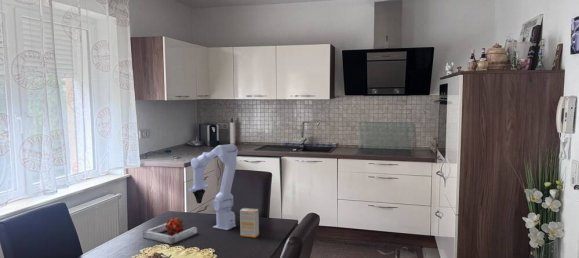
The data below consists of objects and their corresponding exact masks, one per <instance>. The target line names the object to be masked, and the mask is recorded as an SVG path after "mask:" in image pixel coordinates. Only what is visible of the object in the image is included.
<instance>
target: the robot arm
mask: <svg viewBox="0 0 579 258" xmlns="http://www.w3.org/2000/svg"><path fill="white" fill-rule="evenodd" d="M238 152H239V149H238V148H237V146H236V144H234V143H229V144H219V145H217V146H215V148H213V149H212V150H210V151H209V152H208V151H207V152H206V151H205V152H204V151H203V152H202V154H201V155H198V157H193V158H192V159H191V160H190V165H191V168H192V172H193V173H192V175H193V179H192V180H193V181H192V182H193V185H192V187H190V188H188V189H187V190H188V193H189V194H193V196H194V197H195V200H196V203H197V204H198V205H199V204H202V201H203V196H204V195H205V192H206V190H205V189H209V188H210V186H209V184H208V183H207V184H205V170H206V169H205V167H206V165H207V164H209V163H211V162H212V161H213V159H214V158H216V157H218V159H220V161H221V162H222V163H223V164H224V169H223V173H222V178H221V184H220V188H219V189H220V190H219V192H218V193H217V194H216V195H215V198H214V199H213V201H212V208H213V209H214V210H215V212H216V213H215V214H216V220H215V221H216V225H214V226H213V225H212V228H214V229H219V230H224V231H228V230H231V229H232V228H235V227H237V225H236V214H235V212H234V211H232V208H233V207H234V195H233V194H232V185H233V182H234V178H235V173H236V169H237V168H236V167H237V163H238V162H237V157H238V154H239V153H238Z"/></svg>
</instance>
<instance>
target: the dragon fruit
mask: <svg viewBox="0 0 579 258" xmlns="http://www.w3.org/2000/svg"><path fill="white" fill-rule="evenodd" d="M166 223H167V224H166V227H165V228H166V229H167V230H166V231H167V233H168V235H170V236H172V235H175V234H177V233H180V232H182V231H185V230H184V227H185V226H184V224H183V219H180V218H179V217H171V218H170V220H167V221H166Z"/></svg>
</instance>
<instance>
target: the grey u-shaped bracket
mask: <svg viewBox="0 0 579 258" xmlns="http://www.w3.org/2000/svg"><path fill="white" fill-rule="evenodd" d="M166 224H167V222H164V223H162V224H160V225H157V226H155V227H151V228H148V229H146V230H143V231H142V239H146V240H152V241H155V242H160V243H166V244H171V245H173V244H175V243H178V242H180V241H182V240H185V239H187V238H189V237H191V236H194V235H196V234H197V233H198V227H196V226H192V227H190V228H188V229H185V230H183V231H181V232H180V233H177V234H175V235H172V236H171V235H170V234H165V233H163V232H166V231H167V229H166V228H165V227H166Z"/></svg>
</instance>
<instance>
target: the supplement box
mask: <svg viewBox="0 0 579 258" xmlns="http://www.w3.org/2000/svg"><path fill="white" fill-rule="evenodd" d="M259 217H260V216H259V208H249V207H248V208H247V207H243V208H241V209H240V210H239V222H240V223H239V226H240V228H239V229H240V230H239V231H240V233H239V234H240V237H246V238H252V239H253V238H254V239H256V238H257V237H258V236H259V235H260V228H259V227H260V226H259V225H260V224H259V222H260V220H259Z"/></svg>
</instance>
